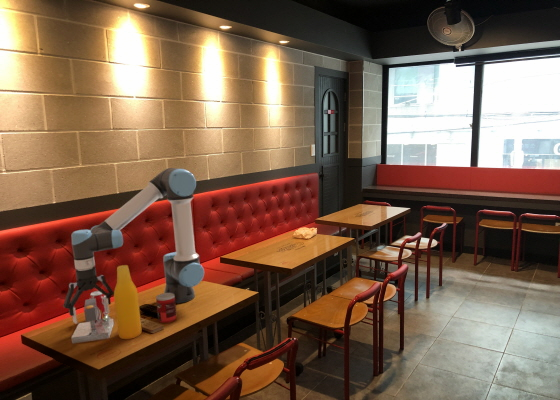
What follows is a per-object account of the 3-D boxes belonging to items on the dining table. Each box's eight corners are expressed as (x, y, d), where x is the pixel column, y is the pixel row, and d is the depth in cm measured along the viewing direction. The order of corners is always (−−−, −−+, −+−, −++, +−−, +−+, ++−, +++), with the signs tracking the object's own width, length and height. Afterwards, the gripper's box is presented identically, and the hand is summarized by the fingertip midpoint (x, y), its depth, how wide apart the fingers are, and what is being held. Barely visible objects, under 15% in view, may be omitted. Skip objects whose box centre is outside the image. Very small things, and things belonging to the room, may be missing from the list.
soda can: (102, 321, 203) (99, 296, 201) (88, 321, 205) (85, 295, 203) (111, 315, 210) (108, 290, 208) (97, 314, 211) (94, 289, 209)
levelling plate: (113, 324, 200) (112, 312, 199) (108, 338, 186) (107, 325, 186) (79, 328, 197) (78, 317, 196) (72, 343, 184) (70, 330, 183)
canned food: (161, 316, 206) (158, 293, 204) (178, 315, 205) (176, 292, 203) (156, 323, 198) (153, 299, 196) (174, 323, 198) (172, 298, 196)
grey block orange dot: (88, 322, 196) (85, 298, 194) (98, 320, 198) (95, 297, 196) (87, 333, 185) (83, 309, 183) (97, 331, 186) (94, 307, 185)
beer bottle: (146, 329, 192) (138, 263, 188) (135, 340, 183) (127, 270, 179) (125, 329, 194) (118, 263, 189) (114, 339, 185) (105, 270, 181)
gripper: (56, 277, 176) (63, 329, 180) (118, 262, 192) (124, 310, 196) (50, 273, 182) (57, 324, 185) (111, 259, 198) (117, 306, 201)
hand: (91, 317), depth 191 cm, fingers open, 13 cm apart
